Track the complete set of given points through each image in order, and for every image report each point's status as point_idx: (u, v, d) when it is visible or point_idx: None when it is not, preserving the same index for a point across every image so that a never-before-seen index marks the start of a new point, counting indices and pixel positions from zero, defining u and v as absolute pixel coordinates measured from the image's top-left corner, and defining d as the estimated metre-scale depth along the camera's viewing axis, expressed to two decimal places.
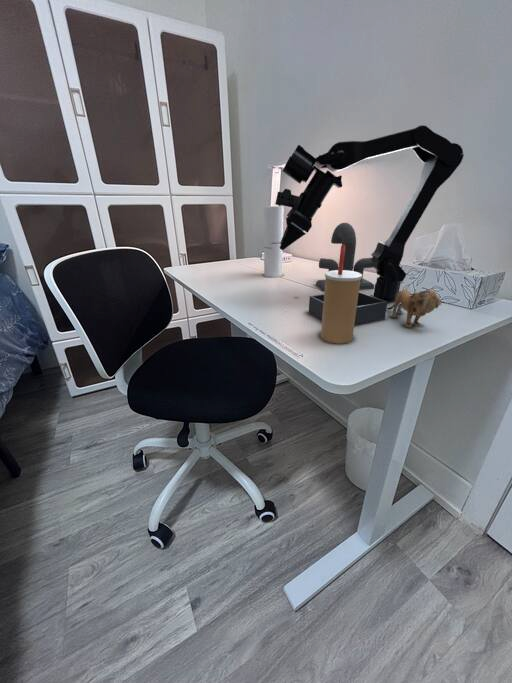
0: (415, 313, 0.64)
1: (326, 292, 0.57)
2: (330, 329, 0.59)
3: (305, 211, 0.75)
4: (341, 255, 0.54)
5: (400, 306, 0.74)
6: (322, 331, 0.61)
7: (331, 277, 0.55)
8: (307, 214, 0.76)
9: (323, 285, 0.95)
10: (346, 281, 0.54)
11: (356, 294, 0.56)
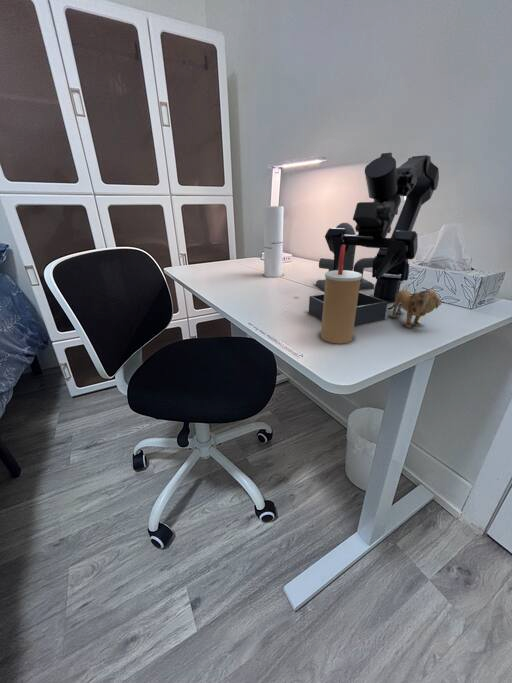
0: (415, 313, 0.64)
1: (326, 292, 0.57)
2: (330, 329, 0.59)
3: (386, 233, 0.62)
4: (341, 255, 0.54)
5: (400, 306, 0.74)
6: (322, 331, 0.61)
7: (331, 277, 0.55)
8: (385, 237, 0.63)
9: (323, 285, 0.95)
10: (346, 281, 0.54)
11: (356, 294, 0.56)
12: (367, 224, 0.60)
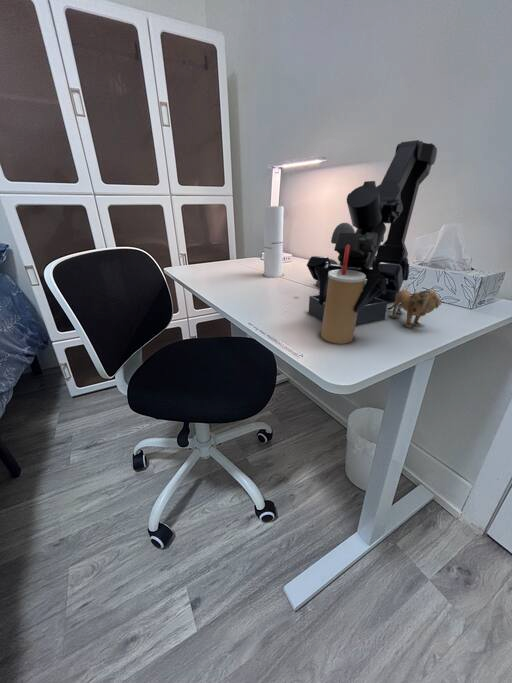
0: (415, 313, 0.64)
1: (328, 292, 0.57)
2: (330, 328, 0.59)
3: (371, 263, 0.59)
4: (345, 255, 0.54)
5: (400, 306, 0.74)
6: (323, 330, 0.61)
7: (334, 277, 0.54)
8: (369, 267, 0.60)
9: None
10: (349, 282, 0.53)
11: (358, 295, 0.55)
12: (350, 254, 0.57)
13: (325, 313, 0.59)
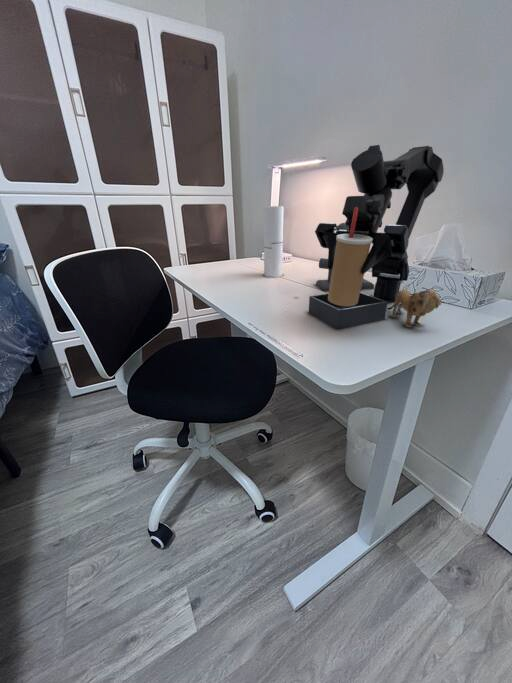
0: (415, 313, 0.64)
1: (336, 255, 0.59)
2: (337, 291, 0.61)
3: (377, 228, 0.61)
4: (353, 218, 0.55)
5: (400, 306, 0.74)
6: (329, 293, 0.64)
7: (342, 240, 0.56)
8: (376, 232, 0.62)
9: (323, 285, 0.95)
10: (356, 244, 0.55)
11: (365, 258, 0.58)
12: (357, 218, 0.59)
13: (332, 276, 0.62)
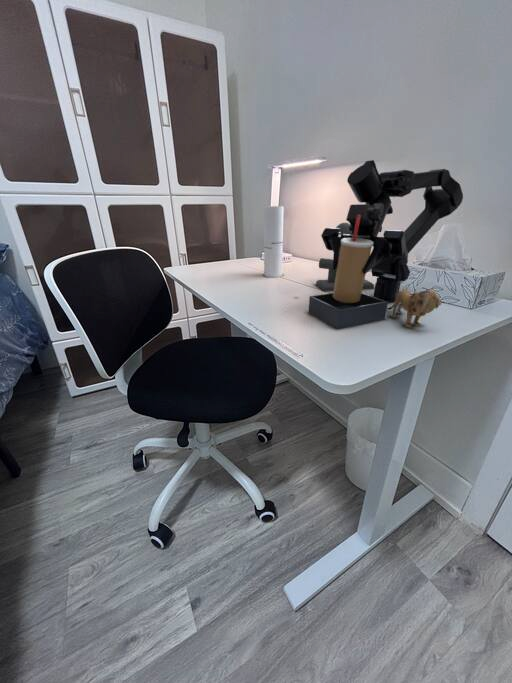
0: (415, 313, 0.64)
1: (340, 256, 0.66)
2: (341, 289, 0.68)
3: (377, 232, 0.68)
4: (356, 224, 0.62)
5: (400, 306, 0.74)
6: (334, 291, 0.71)
7: (346, 243, 0.63)
8: (376, 236, 0.68)
9: (323, 285, 0.95)
10: (358, 247, 0.62)
11: (366, 259, 0.64)
12: (359, 224, 0.66)
13: (337, 276, 0.69)
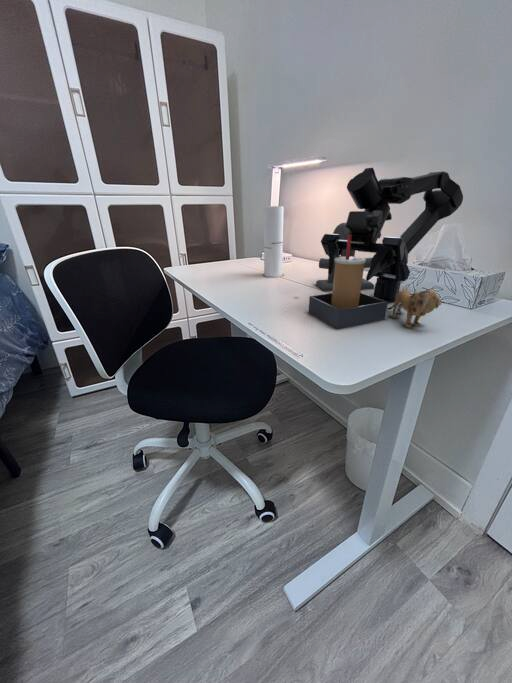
0: (415, 313, 0.64)
1: (335, 274, 0.69)
2: (338, 305, 0.71)
3: (376, 239, 0.68)
4: (348, 243, 0.66)
5: (400, 306, 0.74)
6: None
7: (339, 261, 0.66)
8: (375, 242, 0.69)
9: (323, 285, 0.95)
10: (352, 264, 0.65)
11: (360, 276, 0.67)
12: (359, 230, 0.67)
13: (333, 293, 0.71)
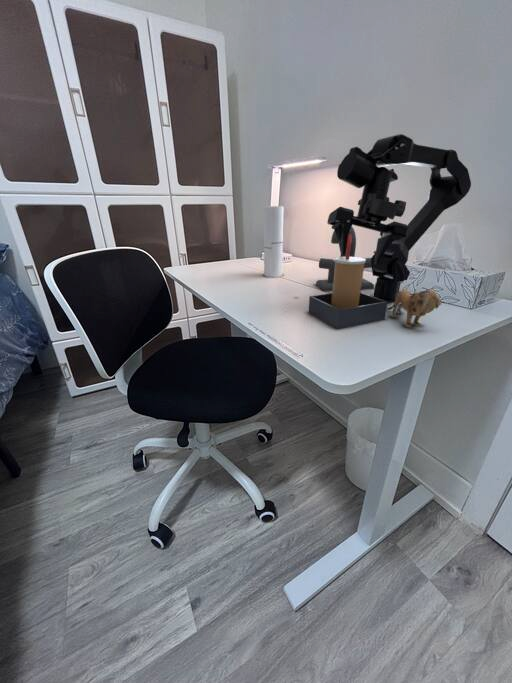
0: (415, 313, 0.64)
1: (335, 274, 0.69)
2: (338, 305, 0.71)
3: None
4: (348, 243, 0.66)
5: (400, 306, 0.74)
6: None
7: (339, 261, 0.66)
8: None
9: (323, 285, 0.95)
10: (352, 264, 0.65)
11: (360, 276, 0.67)
12: None
13: (333, 293, 0.71)
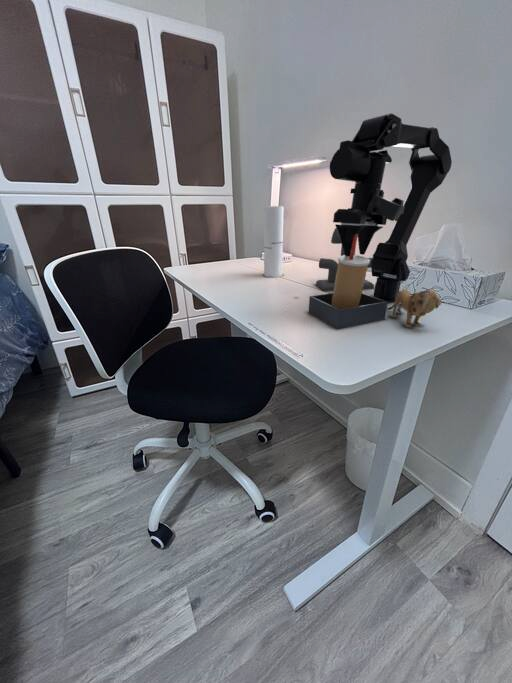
0: (415, 313, 0.64)
1: (338, 274, 0.68)
2: (339, 305, 0.70)
3: None
4: (353, 243, 0.64)
5: (400, 306, 0.74)
6: None
7: (343, 262, 0.65)
8: None
9: (323, 285, 0.95)
10: (356, 266, 0.64)
11: (363, 277, 0.66)
12: None
13: (334, 292, 0.70)
